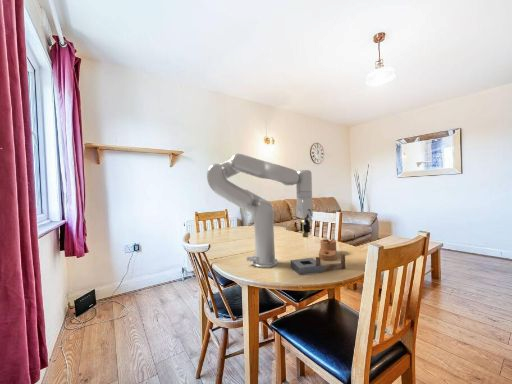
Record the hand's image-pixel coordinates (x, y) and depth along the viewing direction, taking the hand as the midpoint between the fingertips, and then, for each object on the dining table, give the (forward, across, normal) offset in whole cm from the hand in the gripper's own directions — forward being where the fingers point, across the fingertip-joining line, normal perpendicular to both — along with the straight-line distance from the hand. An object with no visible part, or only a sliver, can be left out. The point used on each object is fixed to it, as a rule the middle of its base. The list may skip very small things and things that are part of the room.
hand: (305, 231), depth 116 cm
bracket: (+15, -5, +15) cm, 22 cm away
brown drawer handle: (+15, +14, +5) cm, 21 cm away
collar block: (+15, +10, -4) cm, 19 cm away
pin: (+3, 0, 0) cm, 3 cm away
